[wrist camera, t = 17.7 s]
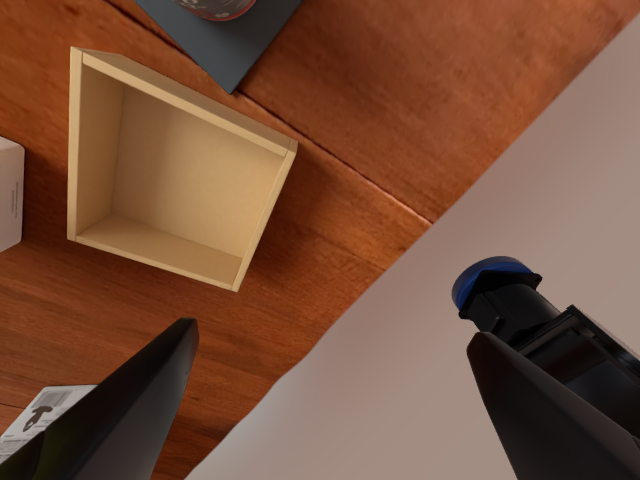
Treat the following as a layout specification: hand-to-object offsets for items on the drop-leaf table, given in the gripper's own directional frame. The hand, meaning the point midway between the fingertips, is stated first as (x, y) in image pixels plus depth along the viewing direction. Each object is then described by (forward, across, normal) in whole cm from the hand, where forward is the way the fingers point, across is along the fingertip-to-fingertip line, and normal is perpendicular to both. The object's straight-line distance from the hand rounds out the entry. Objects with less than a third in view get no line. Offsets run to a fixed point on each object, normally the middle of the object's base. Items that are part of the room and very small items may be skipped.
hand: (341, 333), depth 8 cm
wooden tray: (+13, +9, 0) cm, 16 cm away
